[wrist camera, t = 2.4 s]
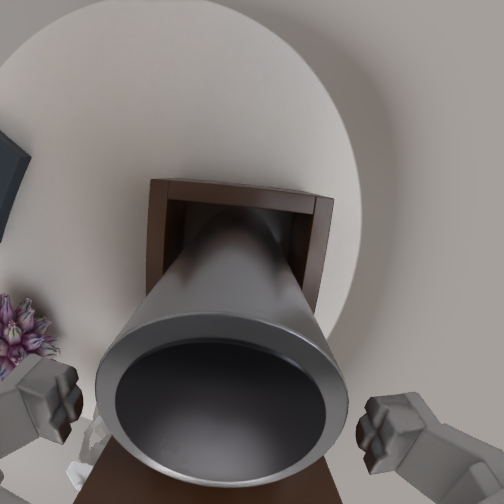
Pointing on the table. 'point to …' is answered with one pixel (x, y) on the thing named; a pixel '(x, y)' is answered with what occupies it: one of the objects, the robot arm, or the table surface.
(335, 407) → the flask
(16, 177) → the tray
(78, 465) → the figurine
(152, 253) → the chest
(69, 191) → the table surface
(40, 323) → the flower
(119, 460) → the lid
